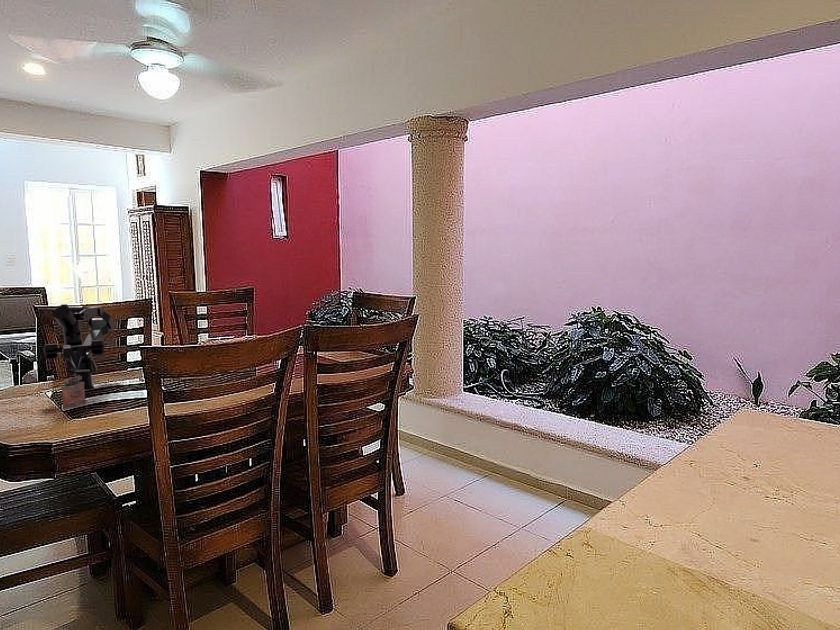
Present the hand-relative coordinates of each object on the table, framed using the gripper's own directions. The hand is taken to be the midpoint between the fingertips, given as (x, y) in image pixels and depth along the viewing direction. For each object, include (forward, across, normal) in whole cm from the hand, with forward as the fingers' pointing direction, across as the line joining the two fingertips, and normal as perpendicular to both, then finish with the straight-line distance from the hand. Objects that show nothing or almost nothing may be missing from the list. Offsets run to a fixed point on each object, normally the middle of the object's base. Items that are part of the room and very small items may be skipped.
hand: (76, 367), depth 207 cm
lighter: (+14, +2, -2) cm, 15 cm away
